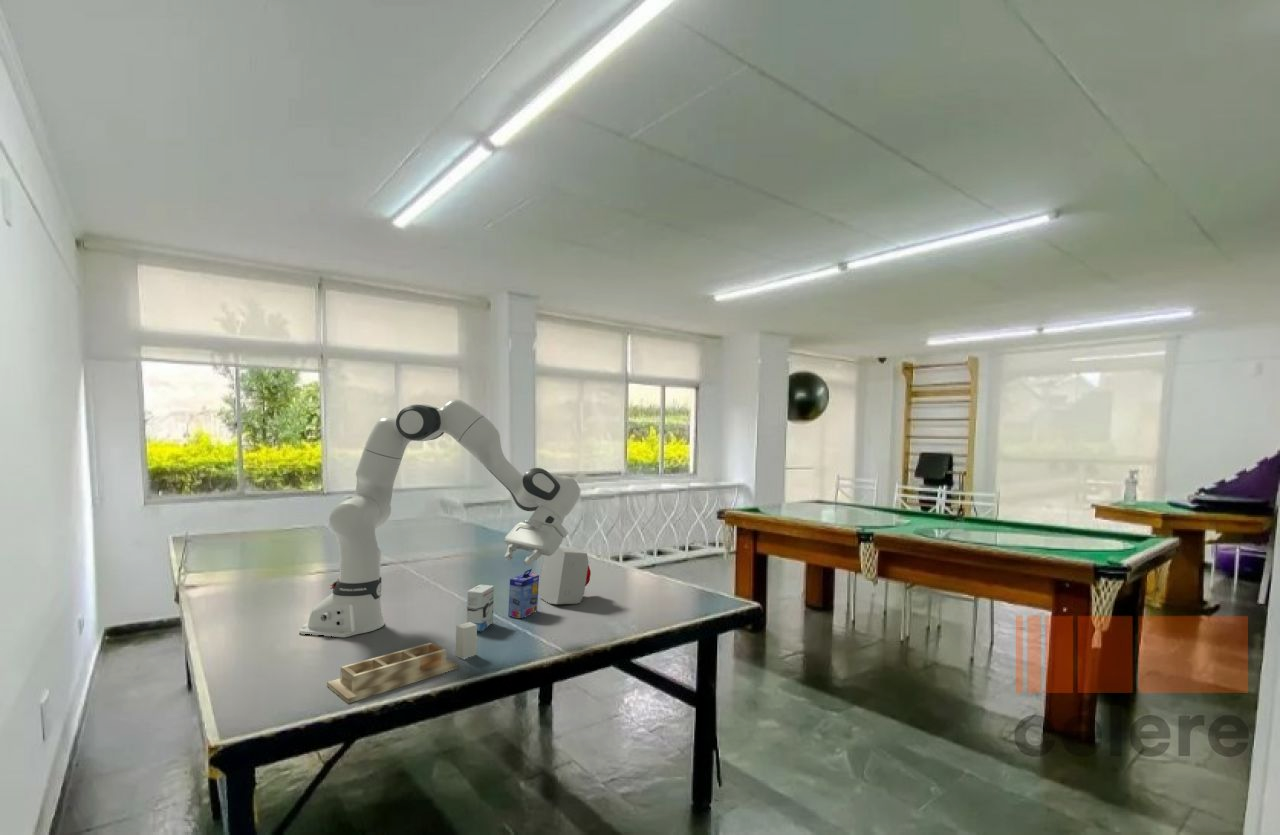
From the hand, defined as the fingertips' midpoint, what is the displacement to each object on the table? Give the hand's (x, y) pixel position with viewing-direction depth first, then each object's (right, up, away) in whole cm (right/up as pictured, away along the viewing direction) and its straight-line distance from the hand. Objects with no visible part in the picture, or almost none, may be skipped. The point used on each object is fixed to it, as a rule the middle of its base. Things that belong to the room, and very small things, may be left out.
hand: (516, 561), depth 165 cm
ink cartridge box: (-3, -23, +23) cm, 33 cm away
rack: (-23, -21, -27) cm, 41 cm away
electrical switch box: (+10, -24, +40) cm, 48 cm away
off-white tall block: (-10, -21, -13) cm, 27 cm away
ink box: (-13, -22, +9) cm, 28 cm away
